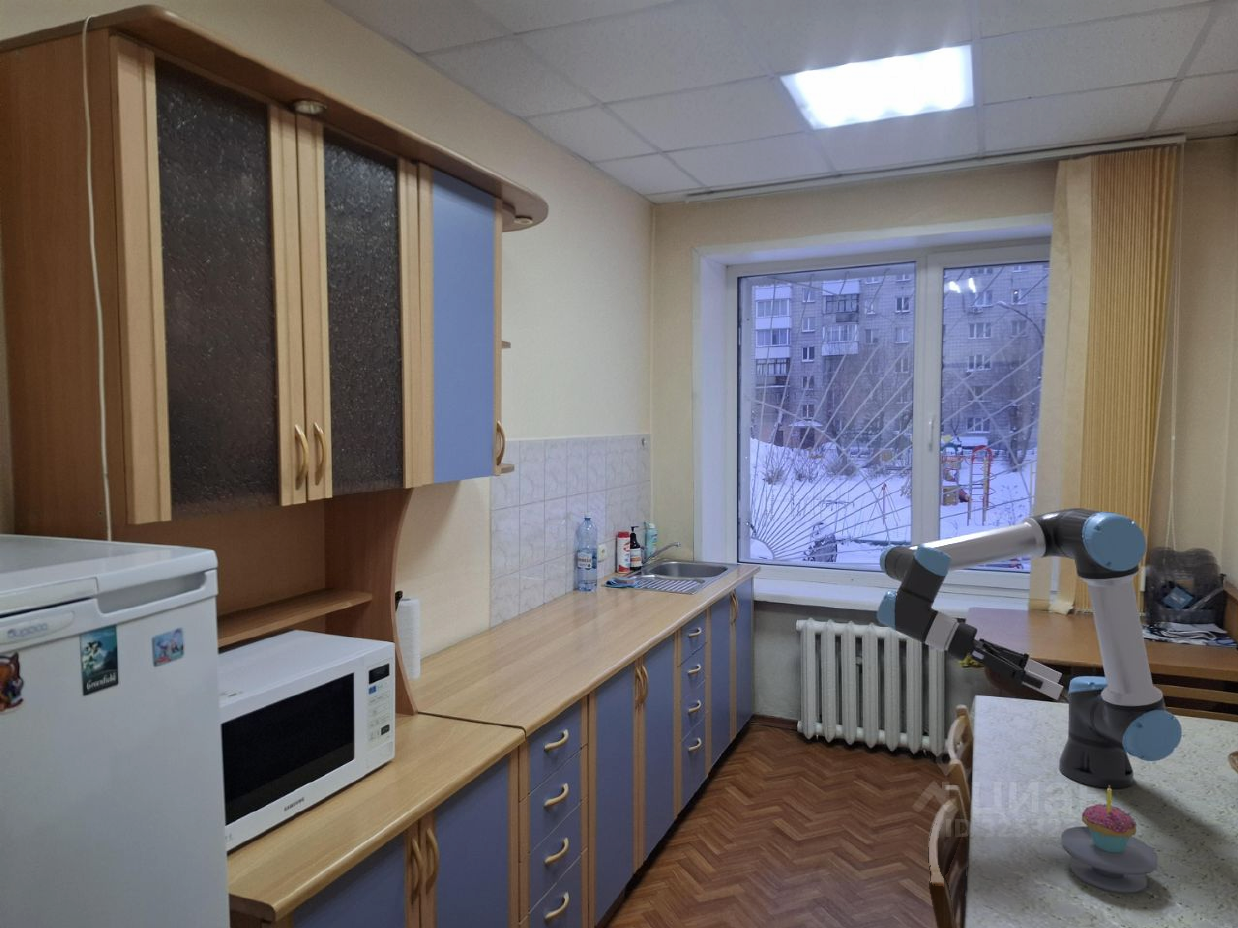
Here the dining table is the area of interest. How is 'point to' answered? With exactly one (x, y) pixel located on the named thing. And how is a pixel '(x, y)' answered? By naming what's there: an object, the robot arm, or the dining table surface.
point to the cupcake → (1109, 825)
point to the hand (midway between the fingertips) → (1059, 686)
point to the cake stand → (1109, 862)
